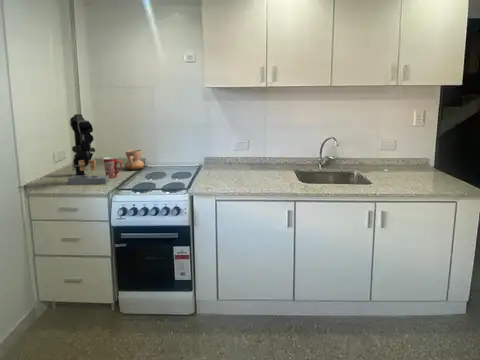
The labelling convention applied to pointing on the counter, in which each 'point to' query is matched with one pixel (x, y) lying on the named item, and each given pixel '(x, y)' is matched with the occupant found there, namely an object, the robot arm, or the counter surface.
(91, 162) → the tan pronged block
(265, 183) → the counter surface
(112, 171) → the mug
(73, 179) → the rail
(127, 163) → the ceramic jug
